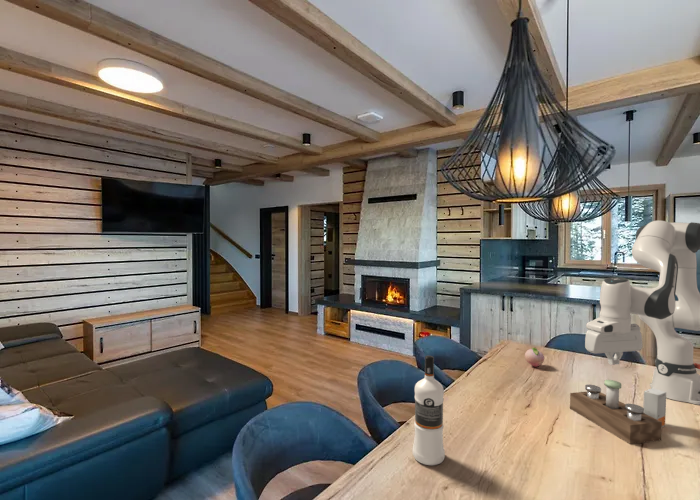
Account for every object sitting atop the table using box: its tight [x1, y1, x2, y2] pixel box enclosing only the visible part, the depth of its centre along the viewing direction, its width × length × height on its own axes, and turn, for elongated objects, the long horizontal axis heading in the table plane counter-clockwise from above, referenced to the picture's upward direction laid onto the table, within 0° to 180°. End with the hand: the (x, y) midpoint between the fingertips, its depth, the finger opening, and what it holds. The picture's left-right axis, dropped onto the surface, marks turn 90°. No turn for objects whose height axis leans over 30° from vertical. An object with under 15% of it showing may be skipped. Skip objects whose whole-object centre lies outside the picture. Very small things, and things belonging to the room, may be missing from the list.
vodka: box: [412, 355, 446, 466], centre depth 106 cm, size 9×9×30 cm
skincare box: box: [643, 387, 667, 428], centre depth 124 cm, size 6×4×12 cm
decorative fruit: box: [524, 347, 545, 368], centre depth 181 cm, size 9×8×10 cm
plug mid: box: [603, 379, 622, 410], centre depth 126 cm, size 5×5×9 cm
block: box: [569, 391, 663, 445], centre depth 126 cm, size 12×24×6 cm, turn 11°
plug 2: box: [624, 403, 644, 421], centre depth 118 cm, size 5×5×9 cm
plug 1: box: [584, 384, 602, 399], centre depth 134 cm, size 5×5×9 cm
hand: (613, 364), depth 125 cm, fingers closed
